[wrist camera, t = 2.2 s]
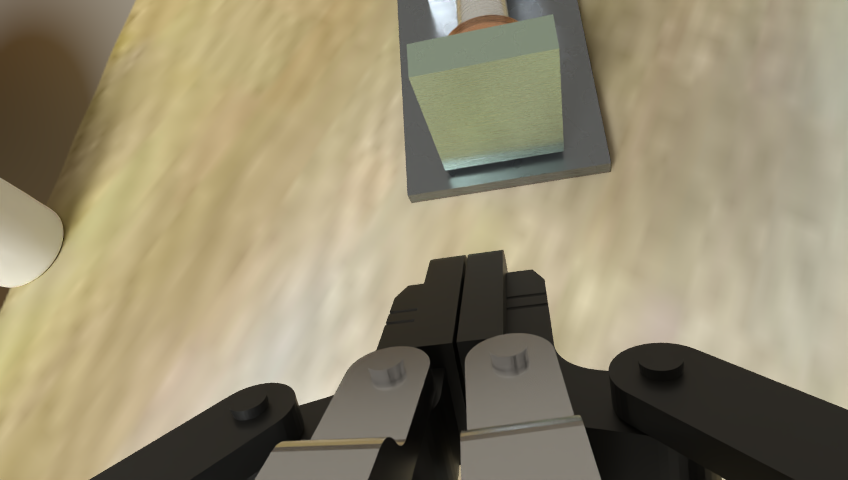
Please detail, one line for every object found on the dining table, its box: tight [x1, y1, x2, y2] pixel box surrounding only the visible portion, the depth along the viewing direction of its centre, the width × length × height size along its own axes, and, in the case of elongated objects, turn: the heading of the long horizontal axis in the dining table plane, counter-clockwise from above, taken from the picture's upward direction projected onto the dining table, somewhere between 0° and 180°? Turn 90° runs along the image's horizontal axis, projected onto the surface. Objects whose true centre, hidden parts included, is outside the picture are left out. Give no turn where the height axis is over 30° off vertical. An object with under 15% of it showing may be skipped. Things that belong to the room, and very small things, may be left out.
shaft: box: [407, 0, 564, 171], centre depth 36 cm, size 15×7×9 cm, turn 3°
